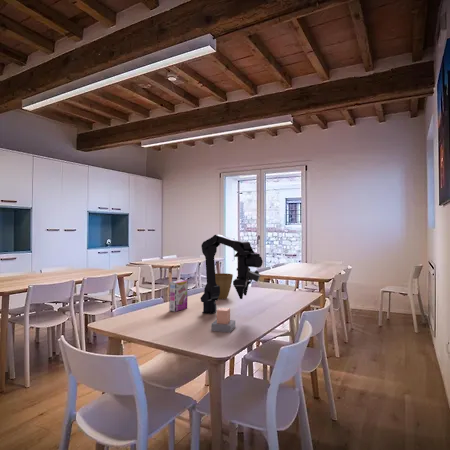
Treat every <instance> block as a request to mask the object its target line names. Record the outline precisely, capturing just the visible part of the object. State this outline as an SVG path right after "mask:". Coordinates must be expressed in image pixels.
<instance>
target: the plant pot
mask: <svg viewBox="0 0 450 450" xmlns="http://www.w3.org/2000/svg"><path fill="white" fill-rule="evenodd" d="M215 278H216V284H217V285H218V286H220V295H219V297H218V300H227V299H228V297H229V294H230V291H231V286H232V284H233V278H234V274H233V273H224V272H223V273H222V272H221V273H219V272H218V273H216V272H215Z"/></svg>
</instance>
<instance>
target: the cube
mask: <svg viewBox="0 0 450 450" xmlns="http://www.w3.org/2000/svg"><path fill="white" fill-rule="evenodd" d="M216 320H217V323H220V324H228V323H229V322H230V320H231V307H230V308H229V307H219V308H217V311H216Z"/></svg>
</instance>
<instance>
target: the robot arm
mask: <svg viewBox="0 0 450 450" xmlns="http://www.w3.org/2000/svg"><path fill="white" fill-rule="evenodd" d="M220 245H224V246H227V247H229V248H232V249H233V251H235V252H236V253H235V254H234V255H233V256H234V257H235V258H237V268H236V271H237V276H236V278H235V279H233V280H232V286H233V288H234V289H235V291H236V293H237V295H238V298H239V299H240V300H243V297H244V296H247V293H248V290H249V285H250V284H251V283H253V282H252V281H254V282H257V283H258V282H259V280H260V277H261V273H260V271H259V270H255V271H252V270H251V268H261V267H262V265H263V262H264V261H263V257H262V256H261V254H260V253H255V251H254V249H253V248H252V247H253V246H251V243H250V242H249V241H248V240H237V239H235V238H234V239H233V238H231V237H228V236H224V235H222V234H214V235H213V236H212V237H210V238H208V239H206V240H204V241H203V242H202V243H201V251H202V255H204V258H205V271H206V275H205V276H206V284H205V286H204V289H203V290H204V291H203V294H202V296H201V297H200V302H201V303H203V308H202V314H210V315H212V314H213V315H214V314H215V313H217V310H218V307H217V305H218V304H217V303H216V302H217V301H218V300H219V299H218V297H219V295H220V286H218V285H217V284H216V278H215V274H216V266H215V265H216V264H215V261H216V260H215V257H216V256H215V255H217V250H218V247H219V246H220Z"/></svg>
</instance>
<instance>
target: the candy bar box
mask: <svg viewBox="0 0 450 450" xmlns="http://www.w3.org/2000/svg"><path fill="white" fill-rule="evenodd" d="M188 284H189V281H188V280H186V279H179V280H176V281H175V280H174V281H170V282H169V297H168V298H169V305H168V311H169V312H173V313H177V312H179V311H180V312H181V311H183V310H186V309H188V291H189V290H188V288H189V285H188Z"/></svg>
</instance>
